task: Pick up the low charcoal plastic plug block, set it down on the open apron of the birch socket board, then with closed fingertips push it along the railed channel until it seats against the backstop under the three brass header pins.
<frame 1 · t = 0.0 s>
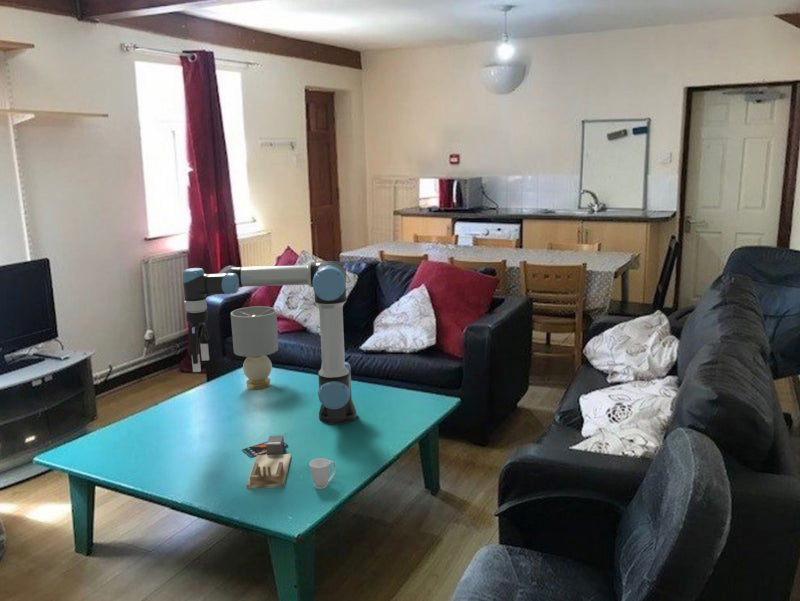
hand: (201, 365, 259), 28 cm above the table, fingers open, 13 cm apart
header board: (269, 472, 235), on the table
cup: (324, 484, 226), on the table
smartphone: (265, 450, 253), on the table
lamp: (258, 386, 319), on the table
plug: (275, 453, 250), on the table
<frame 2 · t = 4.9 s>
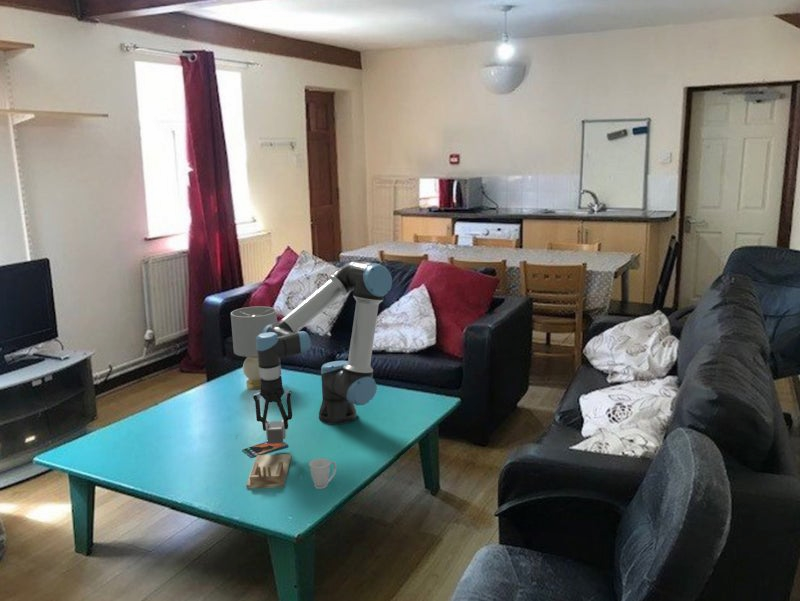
hand: (276, 437, 249), 6 cm above the table, fingers closed on plug, 5 cm apart
plug: (276, 438, 249), point 5 cm above the table, touching gripper
everything else where it was.
when the fingers open (1 cm above the table, at t = 8.1 s): plug stays where it is, resting on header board.
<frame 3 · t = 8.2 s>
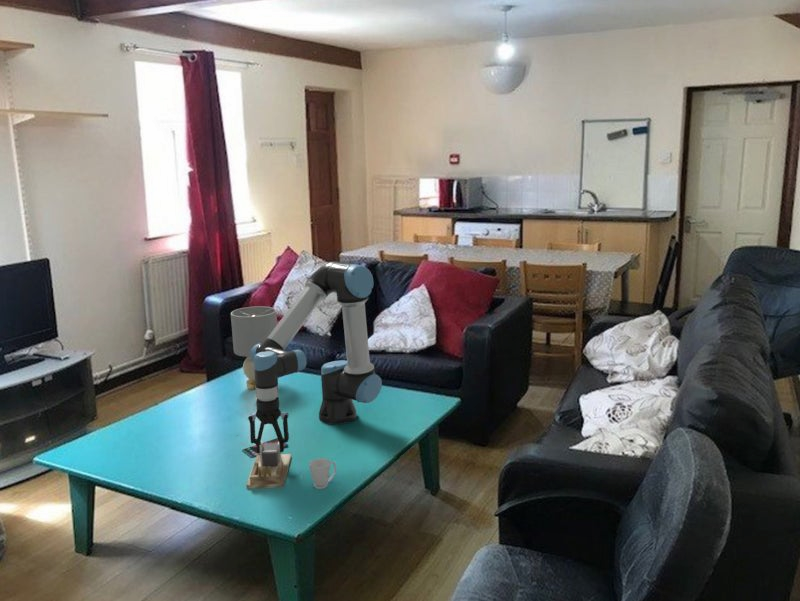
hand: (271, 460, 240), 2 cm above the table, fingers open, 5 cm apart
plug: (271, 461, 240), point 1 cm above the table, touching gripper, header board
everything else where it was.
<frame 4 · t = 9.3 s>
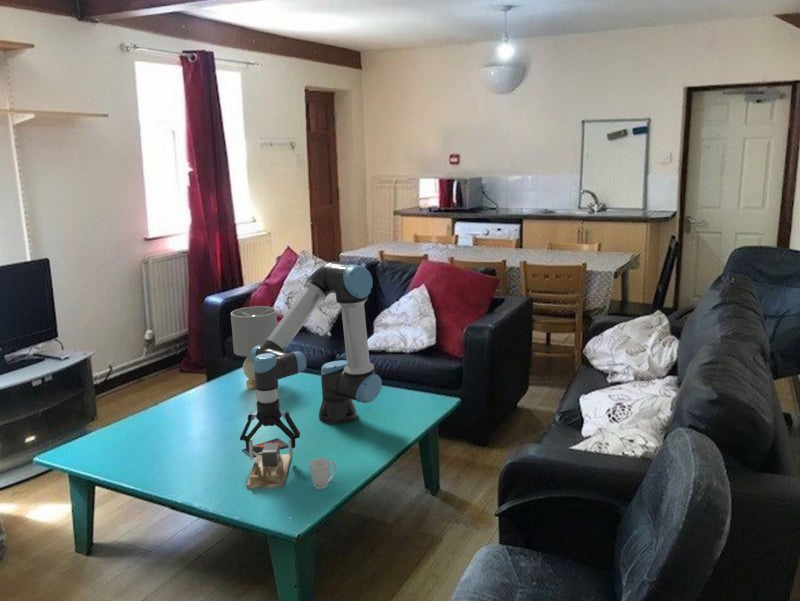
hand: (271, 457, 240), 3 cm above the table, fingers open, 13 cm apart
plug: (271, 461, 240), point 1 cm above the table, touching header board
everything else where it was.
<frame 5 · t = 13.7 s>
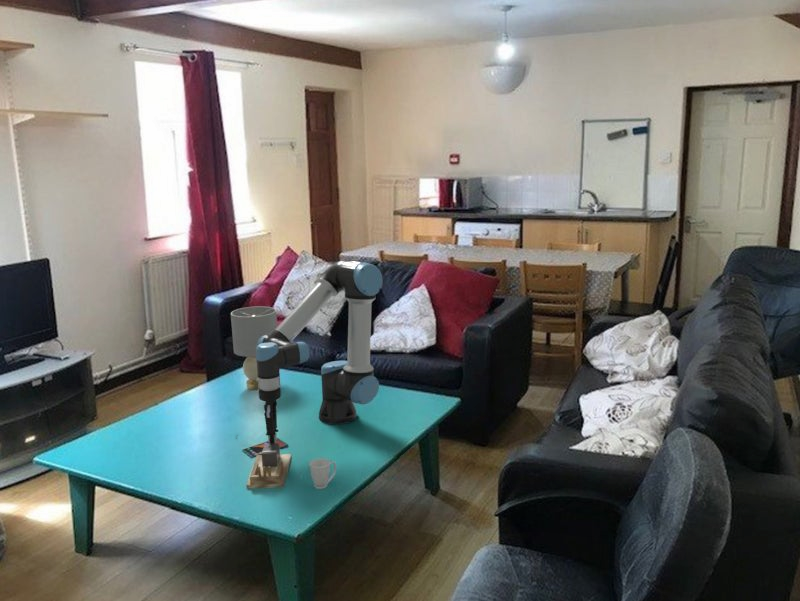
hand: (273, 450, 245), 3 cm above the table, fingers closed
plug: (271, 461, 240), point 1 cm above the table, touching gripper, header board
everything else where it was.
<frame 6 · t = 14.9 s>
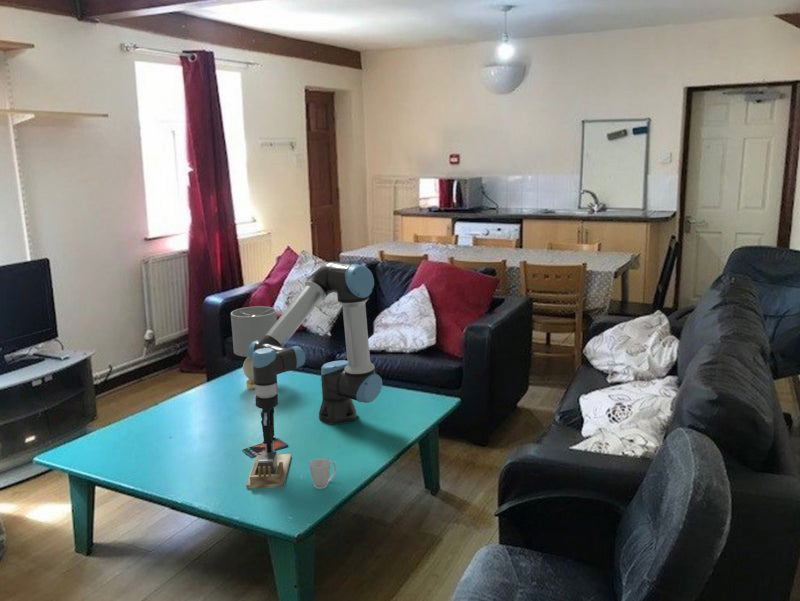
hand: (270, 459, 239), 3 cm above the table, fingers closed
plug: (268, 470, 233), point 1 cm above the table, touching gripper
everything else where it was.
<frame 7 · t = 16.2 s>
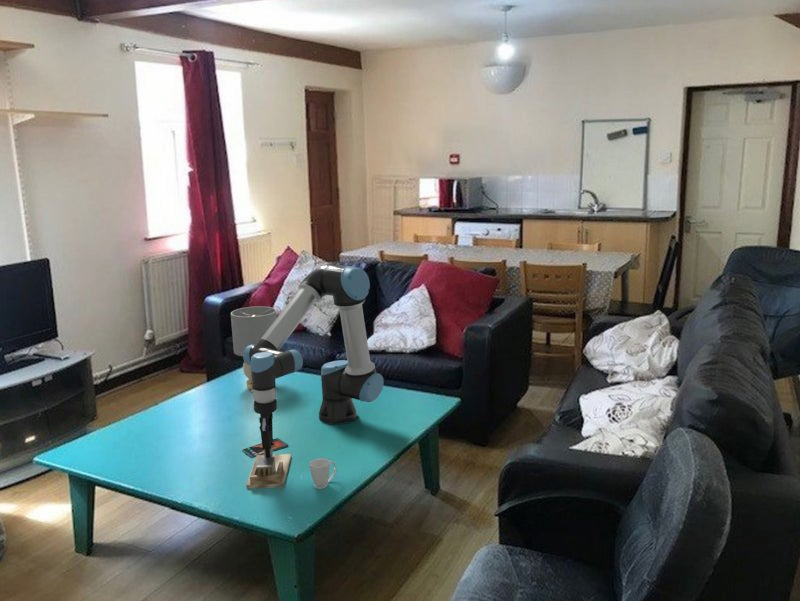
hand: (269, 465, 234), 2 cm above the table, fingers closed
plug: (266, 476, 229), point 1 cm above the table, touching gripper, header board
everything else where it was.
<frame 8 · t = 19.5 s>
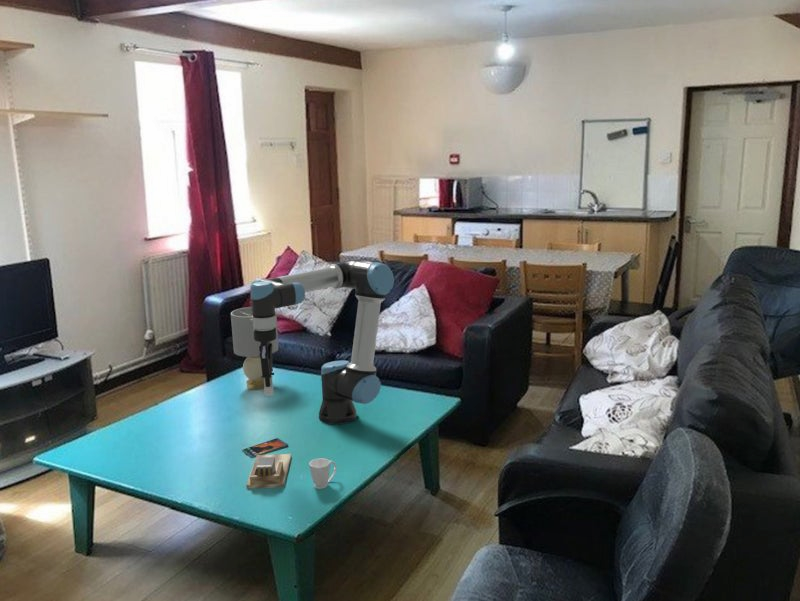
hand: (269, 394, 238), 24 cm above the table, fingers closed
plug: (266, 476, 229), point 1 cm above the table, touching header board
everything else where it was.
at the end: plug 0.5 cm from the target spot on the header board, point 1.2 cm above the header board's base; plug tilted 0°; the gripper is holding nothing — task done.
